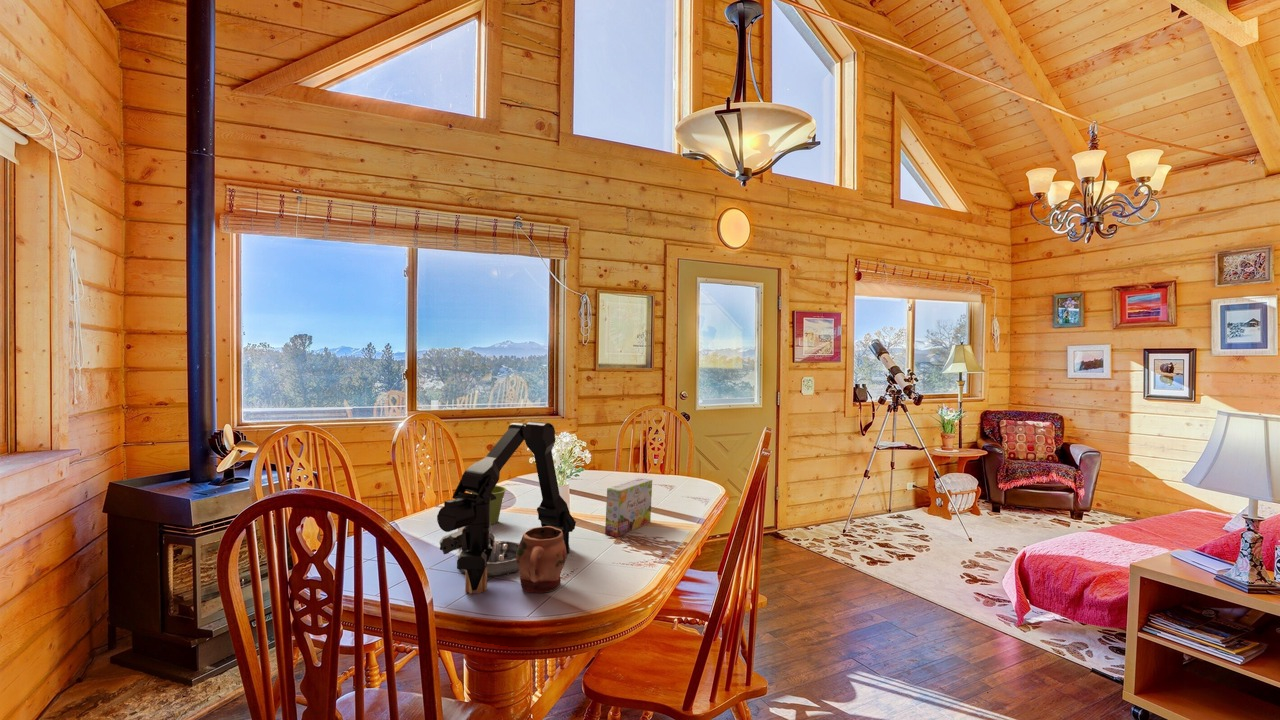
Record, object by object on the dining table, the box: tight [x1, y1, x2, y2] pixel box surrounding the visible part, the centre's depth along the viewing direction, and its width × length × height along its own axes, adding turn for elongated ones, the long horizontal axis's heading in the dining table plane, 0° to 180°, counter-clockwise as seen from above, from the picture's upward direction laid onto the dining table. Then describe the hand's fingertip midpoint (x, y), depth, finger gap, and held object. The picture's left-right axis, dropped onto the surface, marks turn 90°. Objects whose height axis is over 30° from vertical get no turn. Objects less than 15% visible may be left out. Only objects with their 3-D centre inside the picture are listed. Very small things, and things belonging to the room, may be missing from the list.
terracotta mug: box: [516, 526, 568, 594], centre depth 145 cm, size 20×12×14 cm, turn 2°
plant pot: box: [471, 485, 507, 526], centre depth 199 cm, size 12×12×11 cm
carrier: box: [457, 540, 520, 578], centre depth 160 cm, size 18×18×6 cm
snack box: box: [604, 477, 653, 538], centre depth 197 cm, size 21×6×15 cm, turn 150°
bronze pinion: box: [464, 567, 488, 595], centre depth 143 cm, size 5×5×5 cm
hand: (476, 585), depth 143 cm, fingers open, 5 cm apart
